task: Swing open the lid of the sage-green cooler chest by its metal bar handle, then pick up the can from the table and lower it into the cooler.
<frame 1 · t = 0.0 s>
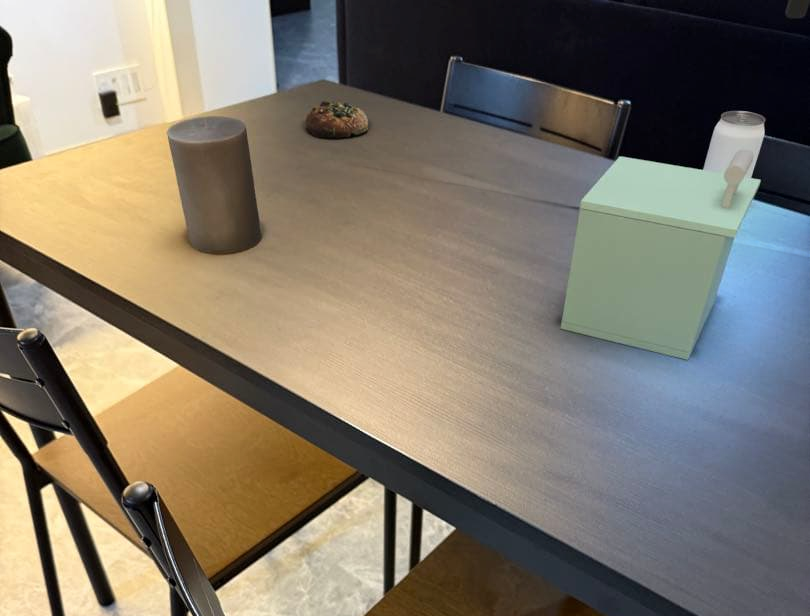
hand: (808, 26, 85), 24 cm above the table, tool pointing down, fingers open, 8 cm apart
cooler: (638, 315, 88), on the table
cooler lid: (677, 173, 76), point 16 cm above the table, hinge at 0.0°
bread roll: (338, 130, 133), on the table
pillar candle: (225, 240, 102), on the table
can: (716, 210, 109), on the table
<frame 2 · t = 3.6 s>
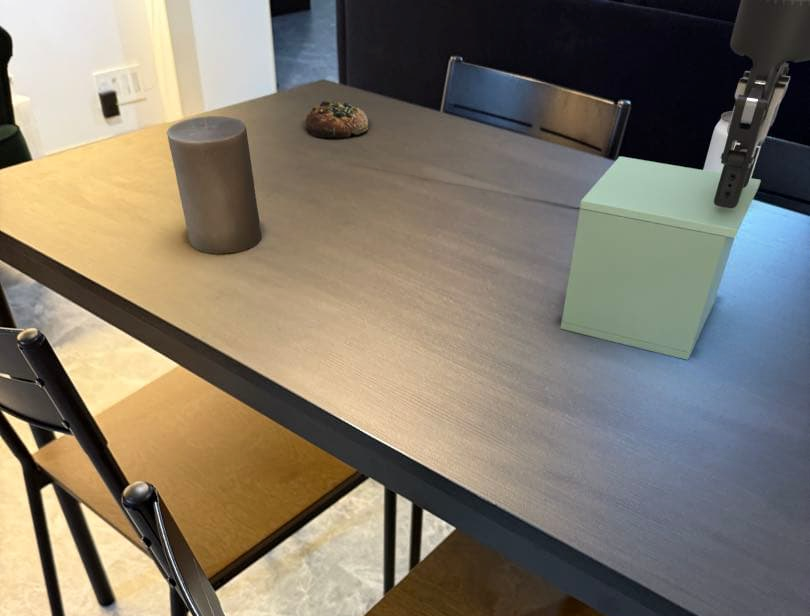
hand: (730, 194, 75), 15 cm above the table, tool pointing down, fingers closed on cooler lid, 5 cm apart
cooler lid: (677, 173, 76), point 16 cm above the table, hinge at -0.1°, touching gripper
everything else where it was.
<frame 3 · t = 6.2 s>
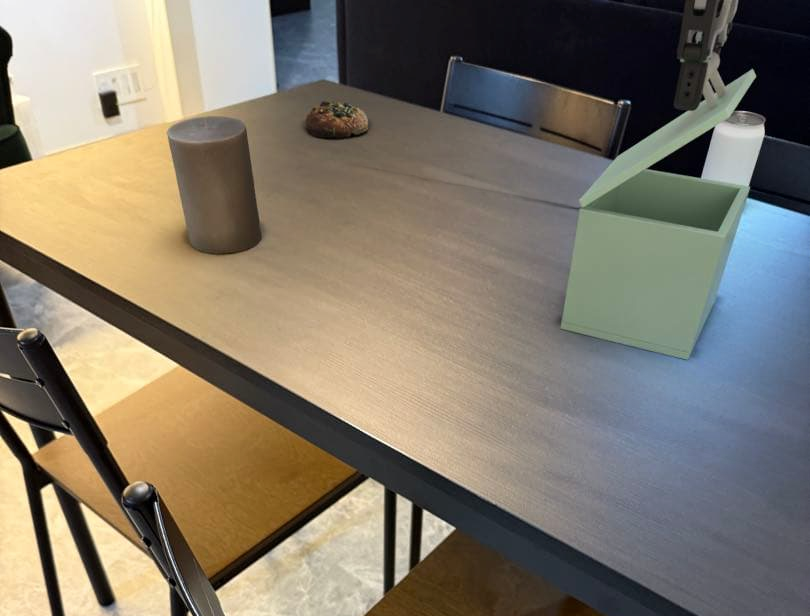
hand: (692, 99, 72), 22 cm above the table, tool pointing down, fingers closed on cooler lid, 5 cm apart
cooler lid: (656, 120, 74), point 20 cm above the table, hinge at 40.6°, touching gripper
everything else where it was.
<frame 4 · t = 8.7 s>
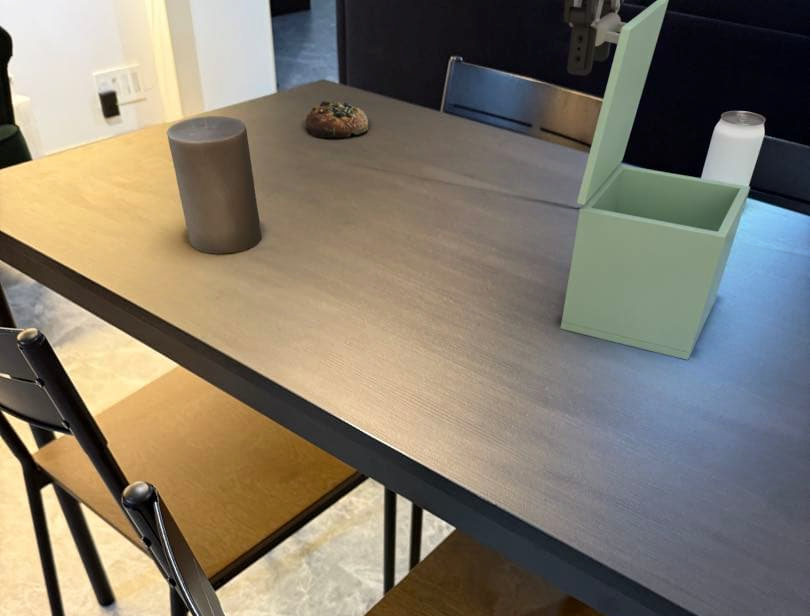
hand: (587, 65, 74), 24 cm above the table, tool pointing down, fingers closed on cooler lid, 5 cm apart
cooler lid: (602, 97, 75), point 22 cm above the table, hinge at 84.4°, touching gripper
everything else where it was.
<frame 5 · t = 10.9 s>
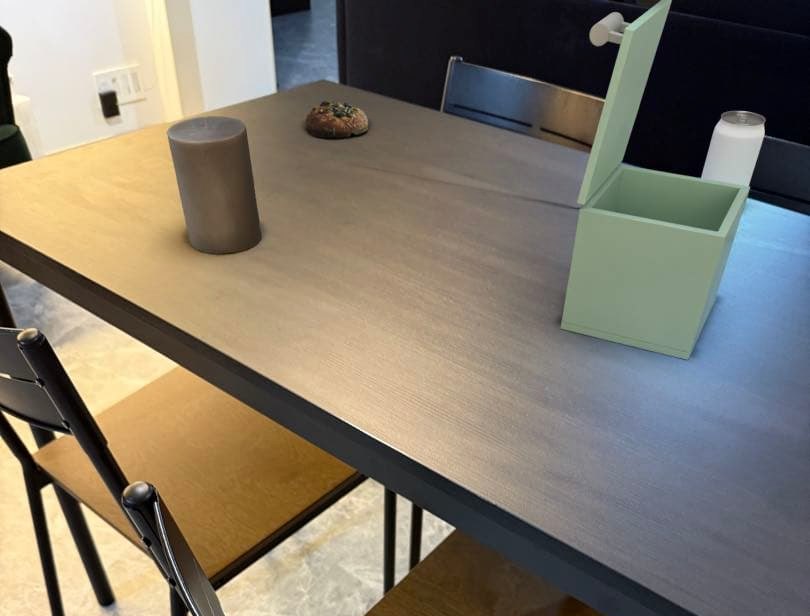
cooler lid: (604, 97, 75), point 22 cm above the table, hinge at 83.1°, touching gripper
everything else where it was.
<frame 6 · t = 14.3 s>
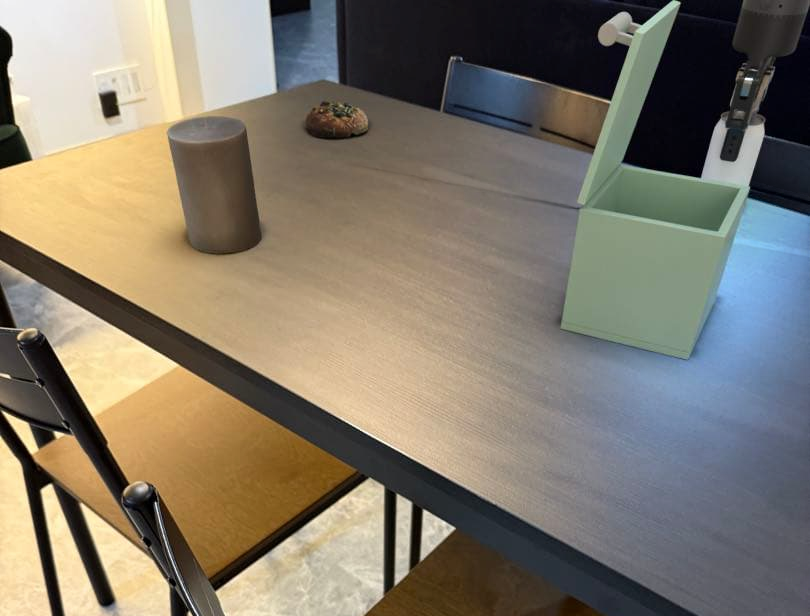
hand: (732, 151, 104), 8 cm above the table, tool pointing down, fingers closed on can, 6 cm apart
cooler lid: (608, 97, 75), point 22 cm above the table, hinge at 79.8°
can: (716, 210, 109), on the table, touching gripper
everything else where it was.
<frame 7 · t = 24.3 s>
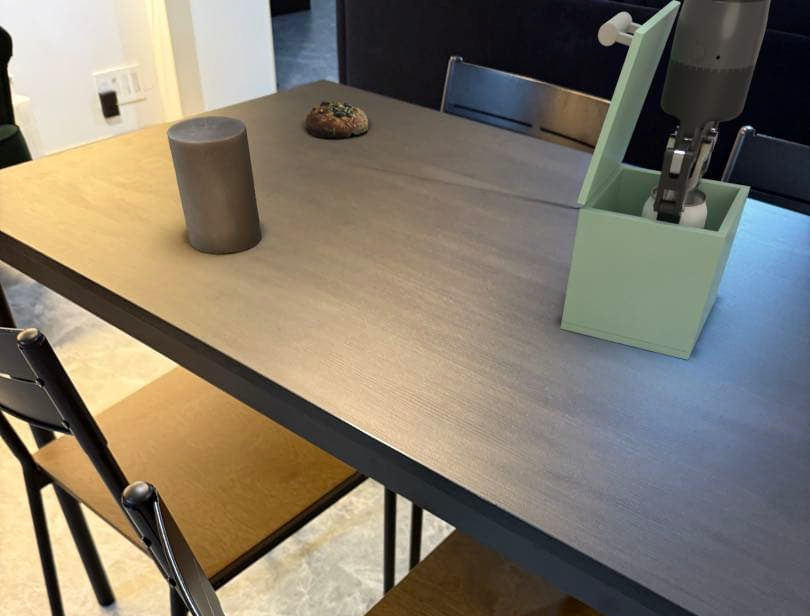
hand: (669, 234, 81), 10 cm above the table, tool pointing down, fingers closed on can, 6 cm apart
can: (652, 304, 86), point 2 cm above the table, touching gripper
everything else where it was.
when the fingers open (11 cm above the table, at t = 35.6 s): can drops 2 cm, resting on cooler.
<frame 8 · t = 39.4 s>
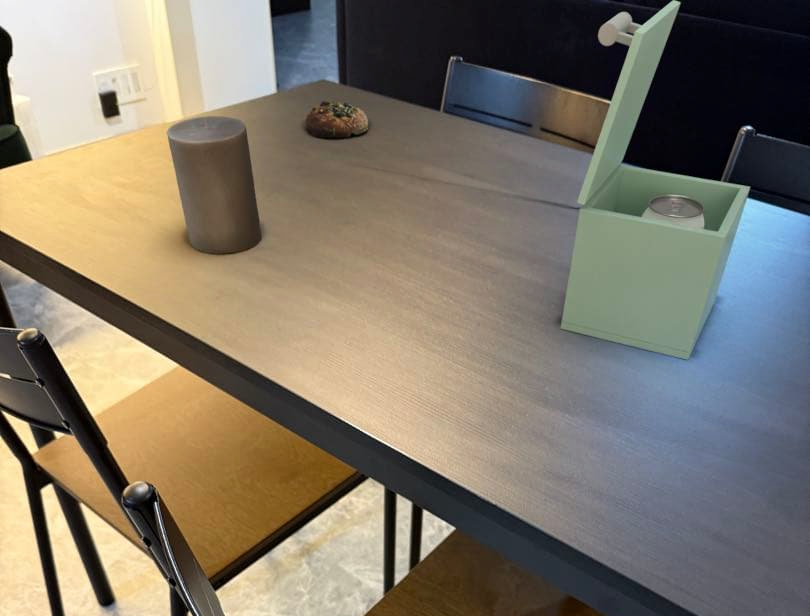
can: (649, 313, 87), point 1 cm above the table, touching cooler
everything else where it was.
at the end: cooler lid at +80° (first picture: +0°); can inside the target area in the cooler (1.2 cm from its centre), point 0.7 cm above the cooler's base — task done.
